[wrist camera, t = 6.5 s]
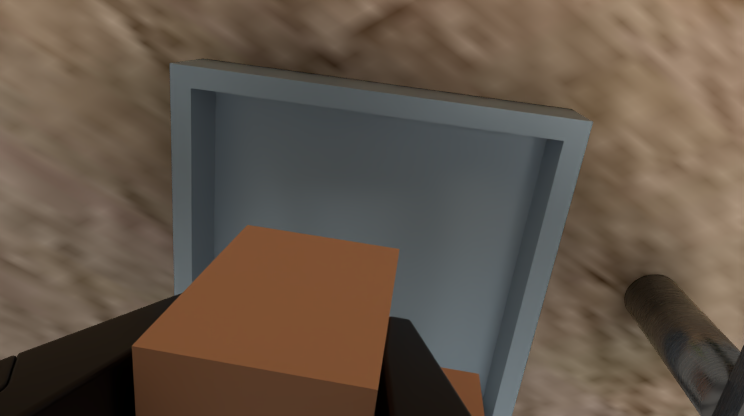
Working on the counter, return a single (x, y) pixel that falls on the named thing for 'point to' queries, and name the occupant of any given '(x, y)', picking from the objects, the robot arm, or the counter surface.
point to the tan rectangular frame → (277, 333)
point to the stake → (689, 346)
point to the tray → (386, 194)
